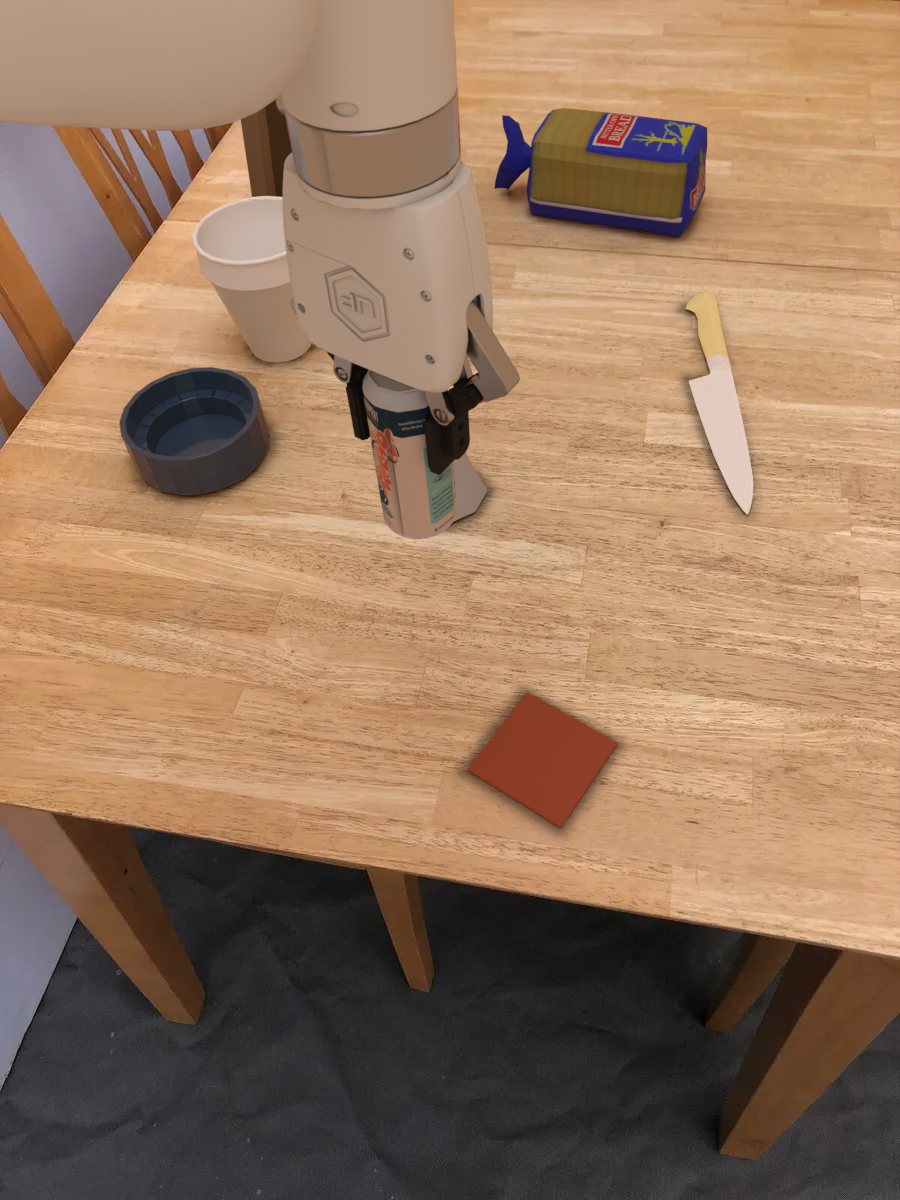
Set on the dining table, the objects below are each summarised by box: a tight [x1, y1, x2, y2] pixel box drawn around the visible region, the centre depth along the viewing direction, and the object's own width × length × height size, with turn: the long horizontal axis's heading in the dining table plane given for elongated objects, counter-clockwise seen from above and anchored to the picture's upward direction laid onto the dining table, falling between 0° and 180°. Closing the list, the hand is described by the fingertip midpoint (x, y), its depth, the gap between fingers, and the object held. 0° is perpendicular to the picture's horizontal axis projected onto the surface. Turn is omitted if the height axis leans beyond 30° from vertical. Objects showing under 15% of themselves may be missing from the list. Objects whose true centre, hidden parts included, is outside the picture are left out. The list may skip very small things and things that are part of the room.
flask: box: [453, 451, 489, 522], centre depth 82 cm, size 7×7×10 cm
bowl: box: [118, 366, 271, 496], centre depth 90 cm, size 13×13×5 cm
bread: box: [493, 107, 708, 238], centre depth 110 cm, size 10×25×10 cm, turn 68°
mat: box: [467, 691, 618, 829], centre depth 68 cm, size 8×8×1 cm
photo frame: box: [240, 99, 292, 197], centre depth 102 cm, size 15×22×25 cm
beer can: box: [362, 370, 456, 540], centre depth 56 cm, size 5×5×12 cm
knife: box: [684, 290, 754, 516], centre depth 92 cm, size 1×33×4 cm
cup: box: [191, 196, 313, 364], centre depth 96 cm, size 12×12×14 cm
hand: (411, 440), depth 55 cm, fingers closed on beer can, 4 cm apart
